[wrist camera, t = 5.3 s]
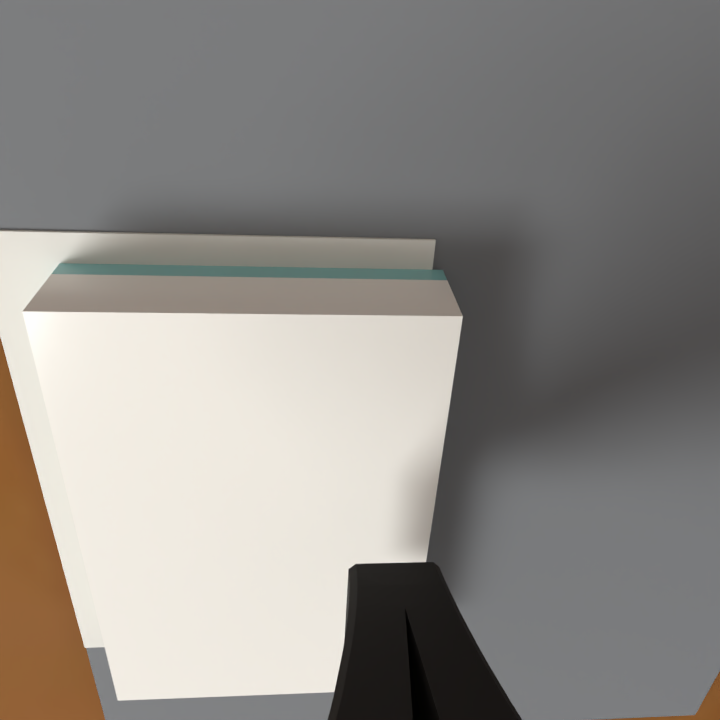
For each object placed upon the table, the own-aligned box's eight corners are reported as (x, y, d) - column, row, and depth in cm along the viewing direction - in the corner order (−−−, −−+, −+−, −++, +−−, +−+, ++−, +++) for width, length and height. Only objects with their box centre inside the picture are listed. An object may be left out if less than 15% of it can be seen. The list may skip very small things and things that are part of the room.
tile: (462, 316, 9) (22, 311, 9) (406, 689, 14) (117, 700, 14) (443, 270, 11) (59, 263, 10) (398, 624, 15) (134, 632, 15)
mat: (1076, -20, 10) (1109, -19, 9) (687, 701, 19) (696, 717, 19) (-98, -94, 8) (-117, -95, 8) (115, 725, 18) (110, 743, 17)
